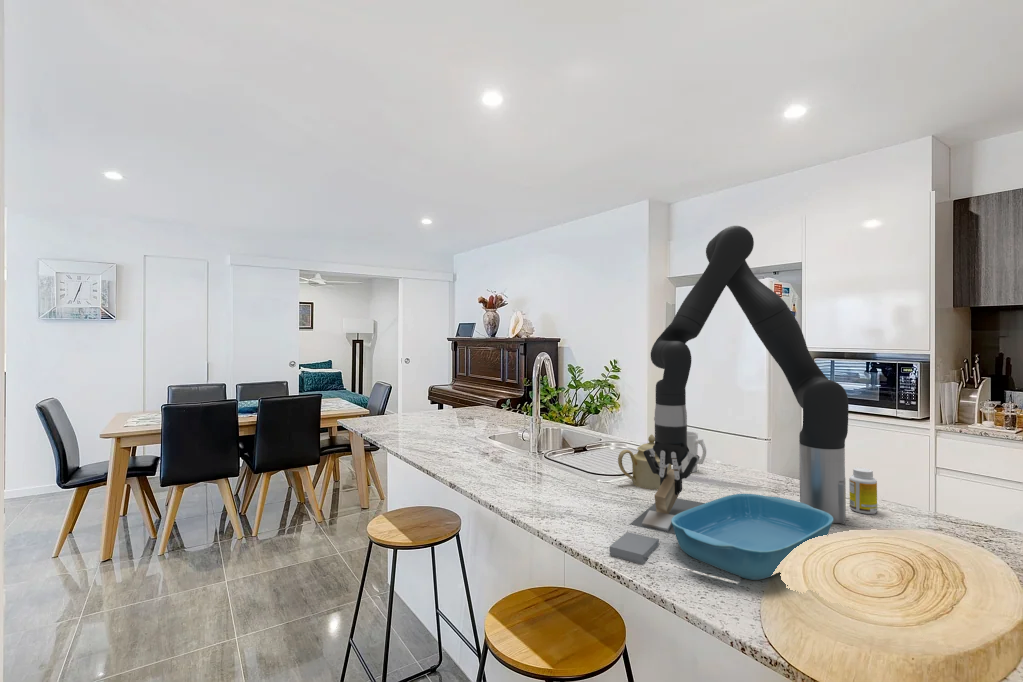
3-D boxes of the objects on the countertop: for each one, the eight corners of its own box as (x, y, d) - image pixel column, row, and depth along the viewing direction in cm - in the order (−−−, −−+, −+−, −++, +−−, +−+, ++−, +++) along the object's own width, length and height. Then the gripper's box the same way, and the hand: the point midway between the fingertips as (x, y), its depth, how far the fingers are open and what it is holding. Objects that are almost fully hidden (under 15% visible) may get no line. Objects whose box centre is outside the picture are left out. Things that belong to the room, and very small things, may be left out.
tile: (658, 539, 103) (642, 554, 95) (659, 549, 103) (643, 566, 95) (627, 531, 107) (609, 546, 99) (627, 541, 107) (609, 557, 99)
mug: (671, 469, 160) (671, 433, 160) (683, 466, 164) (683, 430, 164) (700, 476, 152) (700, 437, 152) (711, 472, 156) (711, 434, 156)
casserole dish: (745, 514, 121) (745, 485, 121) (849, 544, 103) (849, 510, 103) (650, 556, 99) (650, 521, 99) (762, 604, 81) (761, 561, 81)
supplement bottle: (882, 512, 120) (882, 470, 120) (868, 516, 118) (868, 473, 118) (858, 505, 125) (857, 465, 125) (844, 509, 123) (844, 468, 123)
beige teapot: (647, 496, 134) (646, 442, 134) (616, 487, 143) (615, 435, 143) (679, 486, 143) (679, 434, 143) (648, 477, 152) (647, 429, 152)
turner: (689, 489, 122) (687, 471, 121) (668, 531, 109) (665, 512, 108) (665, 485, 126) (663, 467, 125) (642, 525, 113) (639, 506, 112)
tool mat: (710, 506, 126) (710, 504, 126) (681, 538, 107) (681, 536, 107) (663, 497, 133) (663, 495, 133) (629, 526, 114) (629, 524, 114)
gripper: (704, 422, 119) (704, 493, 119) (648, 417, 127) (649, 484, 127) (695, 427, 113) (695, 502, 113) (637, 422, 121) (638, 491, 121)
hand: (671, 492), depth 120 cm, fingers closed on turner
